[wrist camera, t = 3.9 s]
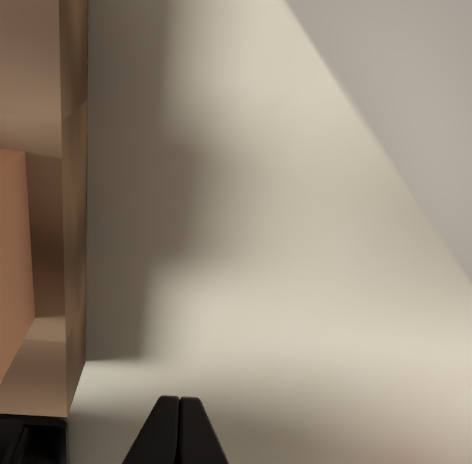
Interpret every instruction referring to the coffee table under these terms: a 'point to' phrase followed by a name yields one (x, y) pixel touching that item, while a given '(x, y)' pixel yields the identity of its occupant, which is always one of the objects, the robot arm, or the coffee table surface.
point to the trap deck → (48, 192)
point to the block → (14, 257)
